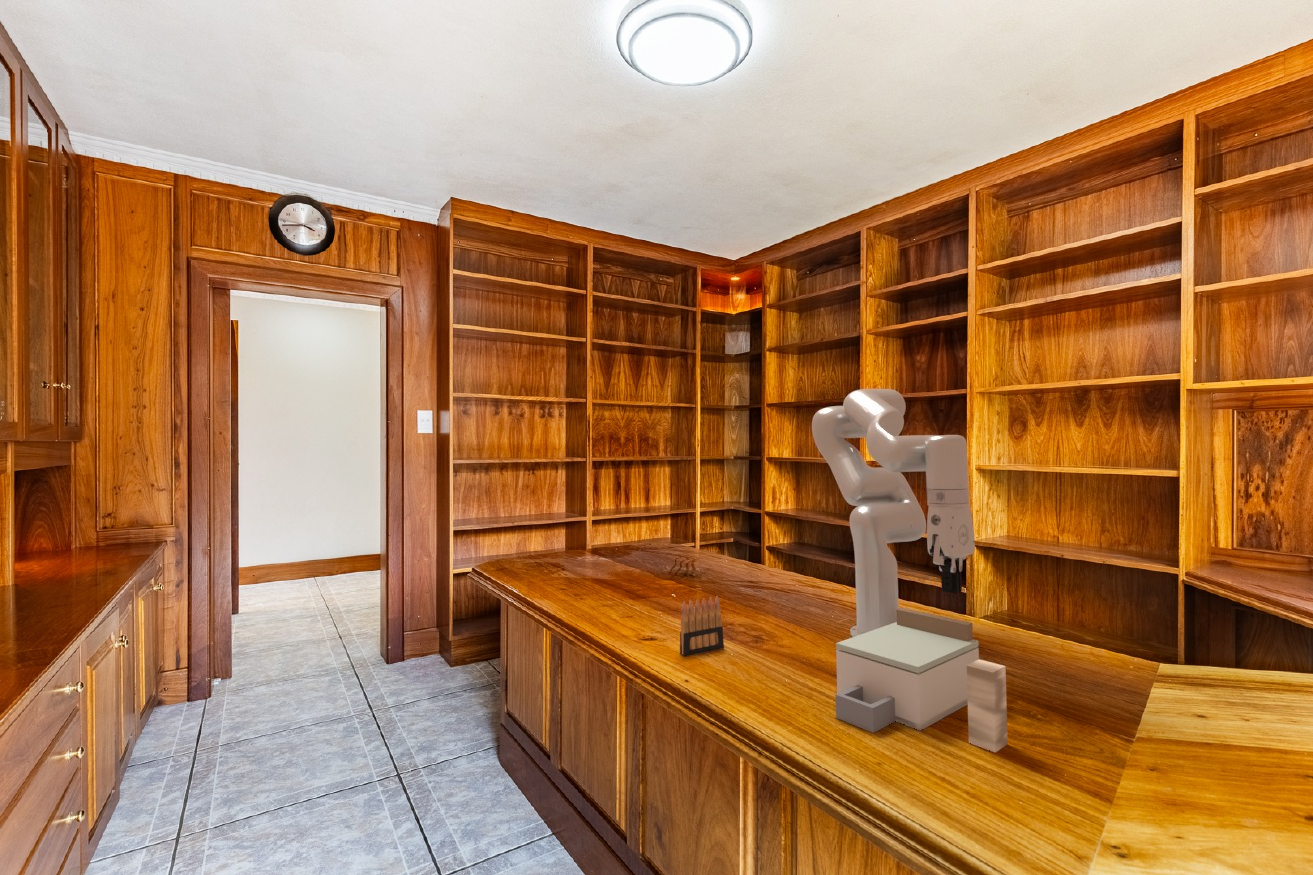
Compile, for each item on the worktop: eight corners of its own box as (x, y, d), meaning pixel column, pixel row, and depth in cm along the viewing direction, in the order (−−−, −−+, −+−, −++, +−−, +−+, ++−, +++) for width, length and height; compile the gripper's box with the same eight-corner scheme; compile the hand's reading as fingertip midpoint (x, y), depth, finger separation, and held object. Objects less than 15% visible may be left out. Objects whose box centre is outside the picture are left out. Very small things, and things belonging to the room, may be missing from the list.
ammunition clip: (683, 656, 139) (682, 602, 139) (679, 654, 141) (678, 600, 141) (724, 648, 144) (722, 595, 144) (719, 645, 146) (718, 594, 146)
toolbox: (899, 672, 126) (898, 627, 126) (979, 697, 114) (978, 647, 114) (815, 709, 111) (813, 658, 111) (898, 742, 98) (896, 685, 98)
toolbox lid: (898, 626, 126) (897, 606, 126) (978, 645, 114) (977, 623, 114) (836, 648, 114) (835, 626, 114) (918, 673, 102) (917, 648, 102)
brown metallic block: (981, 734, 100) (979, 659, 100) (1007, 744, 97) (1005, 666, 97) (968, 742, 97) (966, 665, 97) (995, 752, 94) (993, 672, 94)
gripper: (946, 501, 116) (950, 601, 115) (985, 496, 125) (989, 588, 124) (909, 499, 122) (912, 594, 121) (948, 494, 131) (952, 583, 130)
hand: (951, 591), depth 123 cm, fingers closed
